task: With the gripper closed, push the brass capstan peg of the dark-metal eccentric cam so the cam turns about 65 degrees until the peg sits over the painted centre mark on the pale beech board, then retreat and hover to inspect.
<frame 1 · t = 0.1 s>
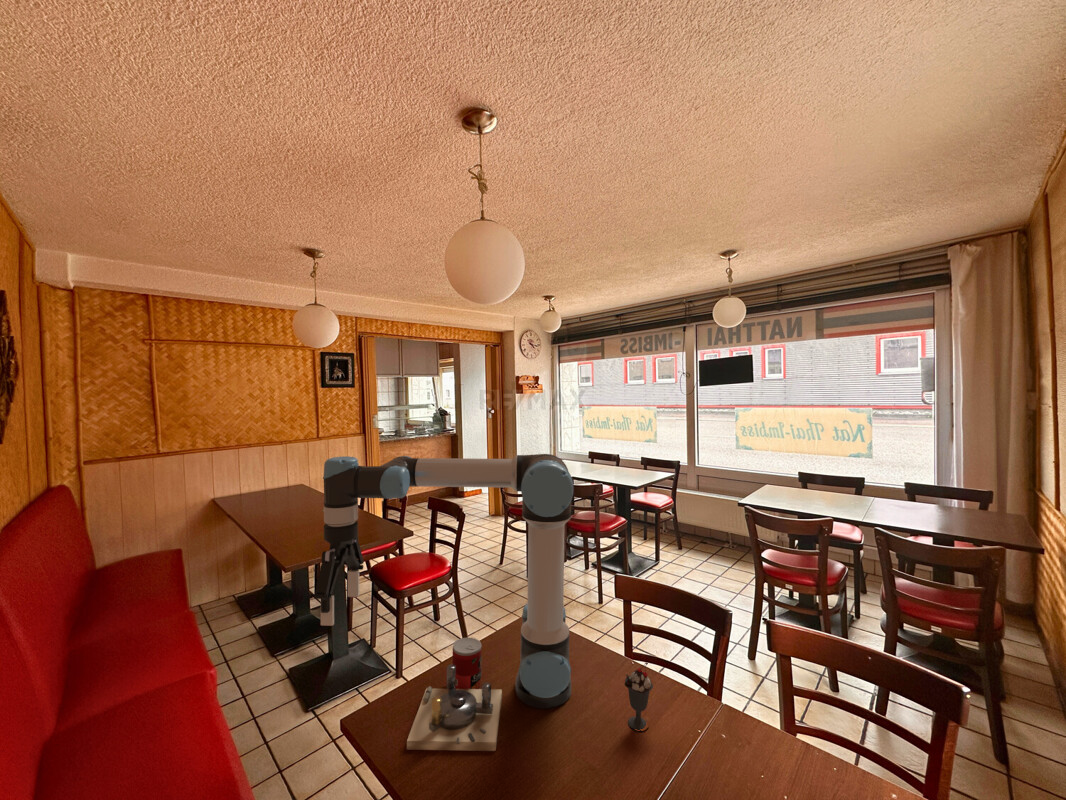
hand: (341, 609, 106), 28 cm above the table, fingers open, 13 cm apart
canned food: (466, 685, 122), on the table
cam capstan: (452, 701, 106), point 6 cm above the table, hinge at 0.0°
sundae: (638, 724, 108), on the table
stand: (458, 721, 108), on the table
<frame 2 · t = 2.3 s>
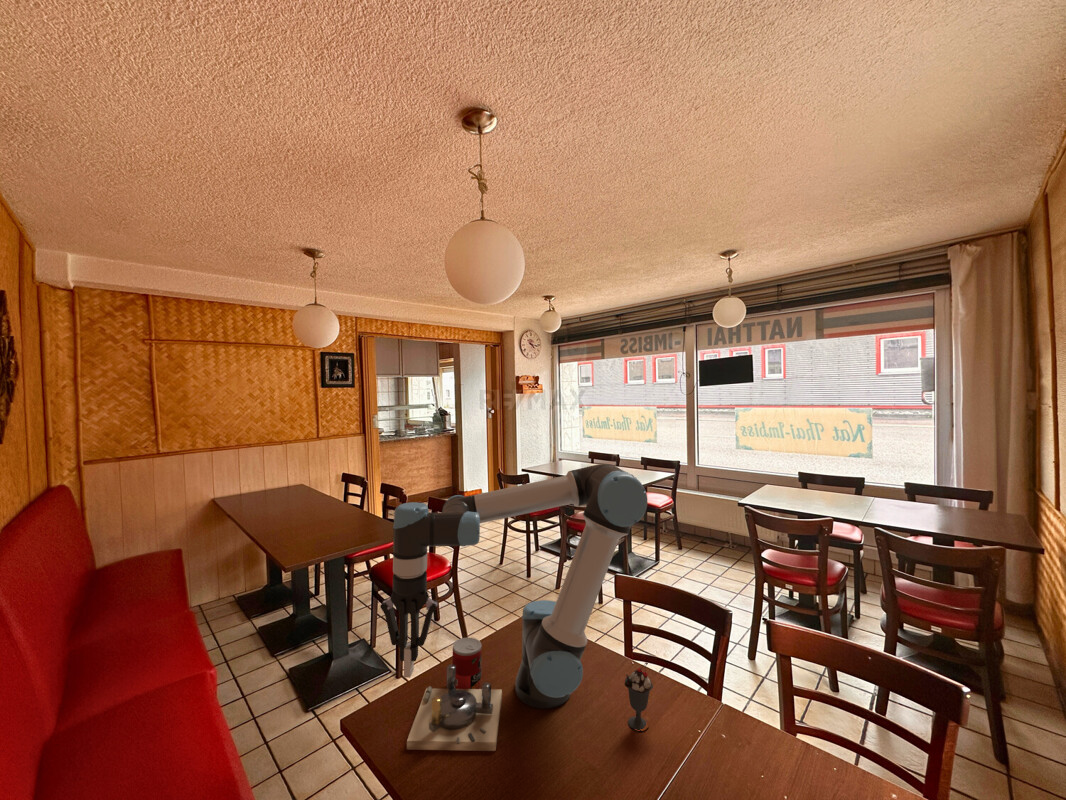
hand: (408, 673, 102), 16 cm above the table, fingers closed
nothing on the table moved.
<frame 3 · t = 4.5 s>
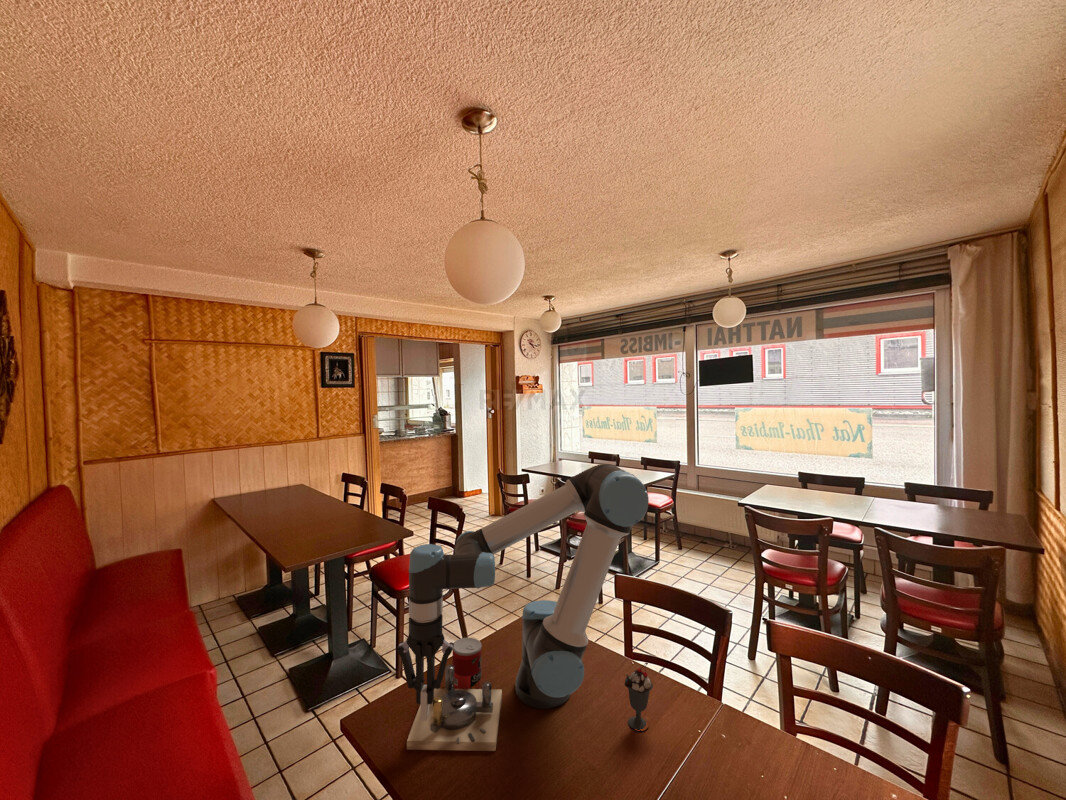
hand: (425, 716, 102), 6 cm above the table, fingers closed
cam capstan: (453, 701, 106), point 6 cm above the table, hinge at 3.2°, touching gripper
everything else where it was.
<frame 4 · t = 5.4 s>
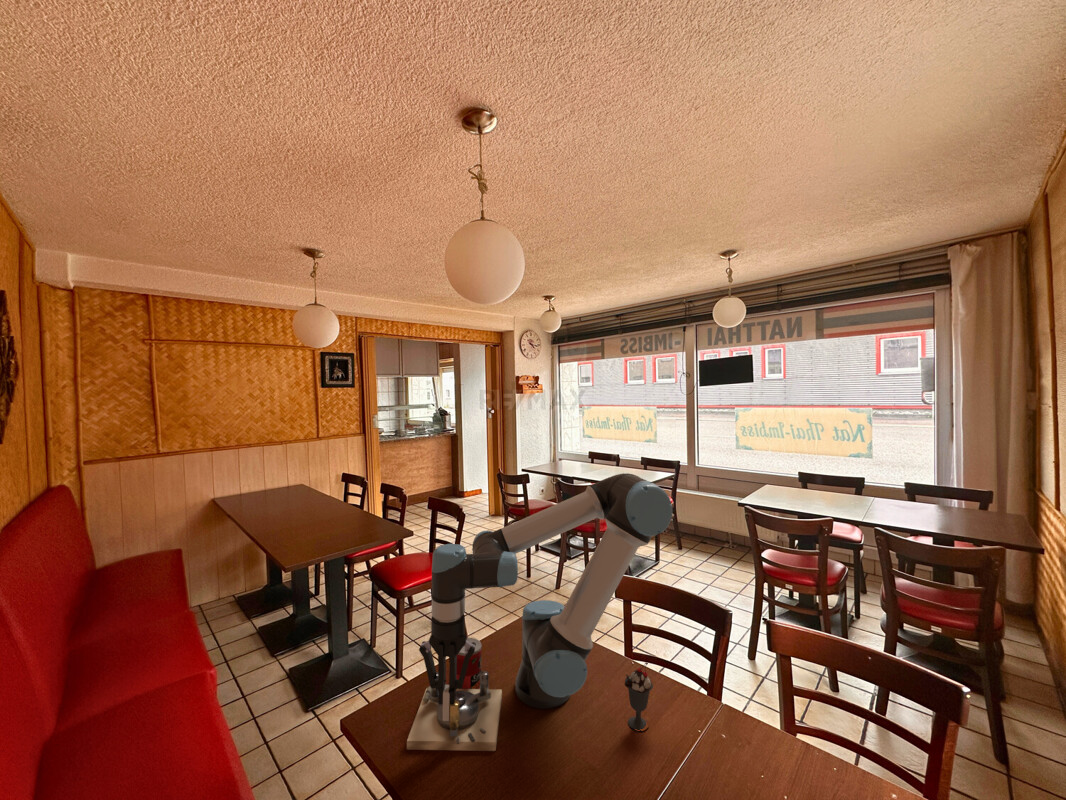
hand: (446, 716, 101), 6 cm above the table, fingers closed
cam capstan: (457, 702, 106), point 6 cm above the table, hinge at 38.1°, touching gripper
everything else where it was.
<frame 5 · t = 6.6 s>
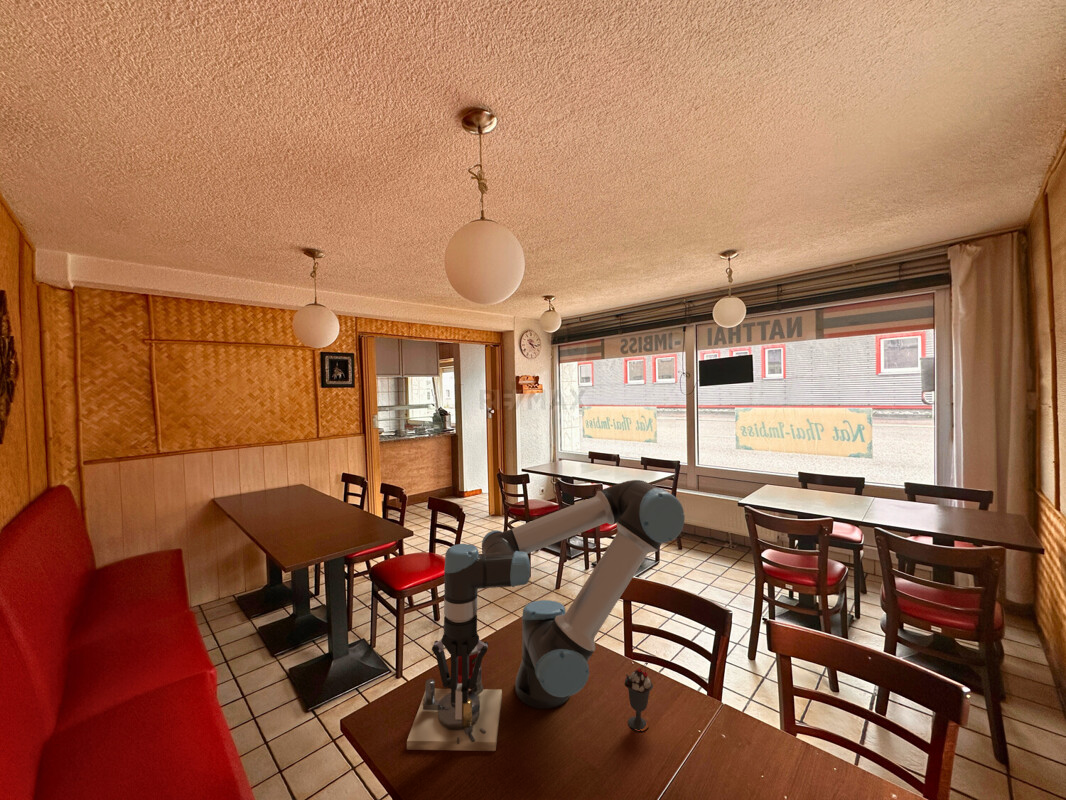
hand: (459, 714, 102), 6 cm above the table, fingers closed
cam capstan: (460, 702, 106), point 6 cm above the table, hinge at 62.1°, touching gripper
everything else where it was.
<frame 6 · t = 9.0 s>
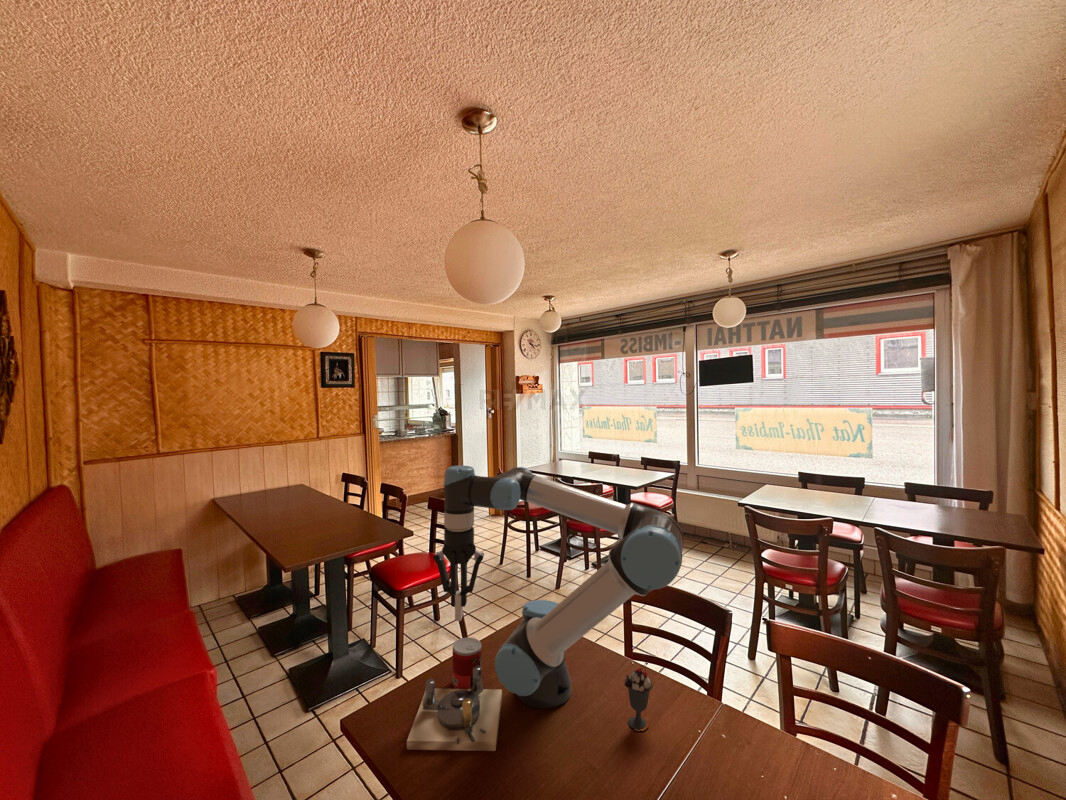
hand: (458, 618, 113), 22 cm above the table, fingers closed
cam capstan: (460, 702, 106), point 6 cm above the table, hinge at 61.9°
everything else where it was.
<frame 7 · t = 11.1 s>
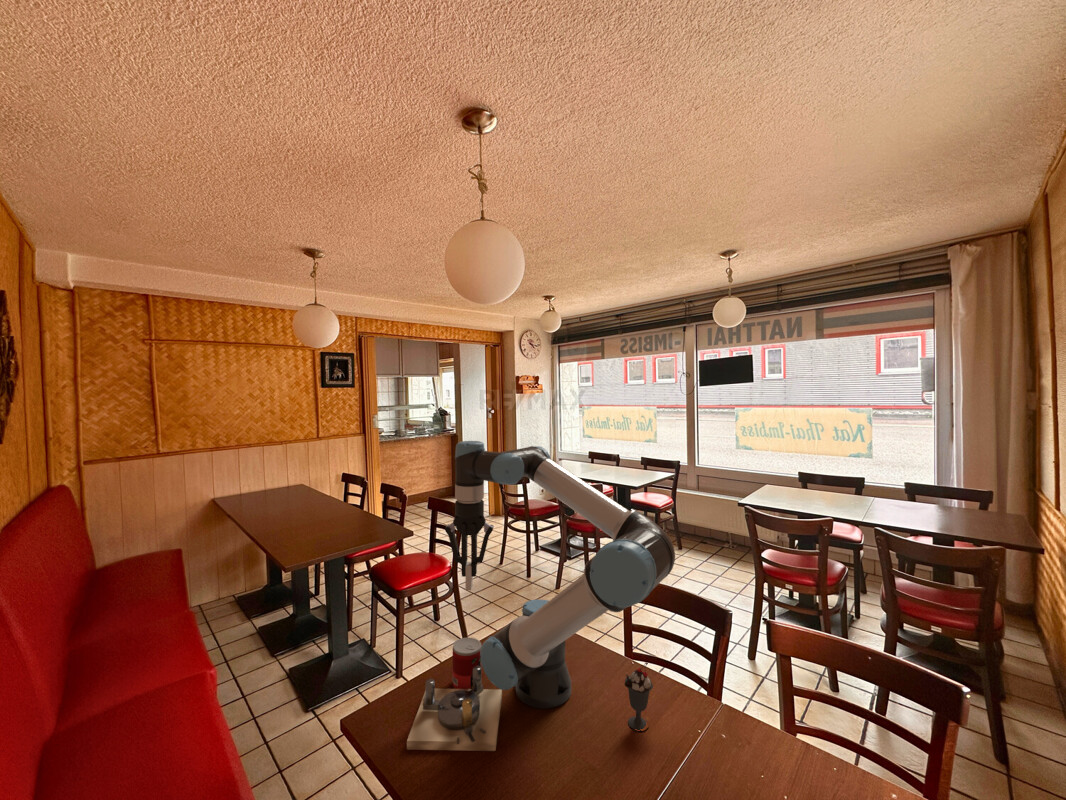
hand: (469, 588, 117), 28 cm above the table, fingers closed
nothing on the table moved.
at the end: cam capstan at +62° (first picture: +0°) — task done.
